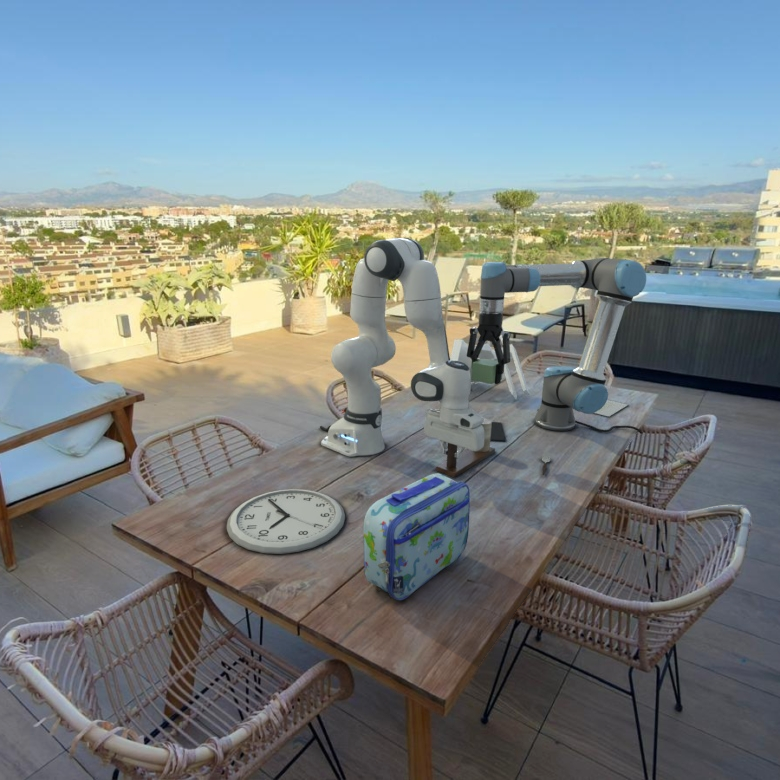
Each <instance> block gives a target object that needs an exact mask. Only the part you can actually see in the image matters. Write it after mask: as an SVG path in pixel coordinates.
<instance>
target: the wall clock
mask: <svg viewBox="0 0 780 780" xmlns="http://www.w3.org/2000/svg"><path fill="white" fill-rule="evenodd" d="M345 520H346V515H345V511H344V508H343V507H342V505H341V504H340V503H339V502H338V501H337V500H336V499H334V498H333V497H331V496H329V495H327V494H324V493H322V492H319V491H315V490H309V489H298V488H297V489H295V488H292V489H289V488H288V489H280V490H279V489H278V490H274V491H270V492H269V491H268V492H265V493H262V494H260V495H257V496H254V497H252V498H250V499H248V500H246V501H245V502H243V503H241V504H240V505H239V506H237V508H236V509H234V510H233V511H232V512H231V514H230V516H229V517H228V519H227V522H226V531H227V534H228V537H229V538H230V539H231V540H232V541H233V542H234V543H235V544H236V545H238V546H240V547H242V548H244V549H246V550H248V551H253V552H256V553H261V554H271V555H273V554H274V555H281V554H282V555H283V554H291V553H300V552H303V551H306V550H311V549H314V548H316V547H318V546H320V545H322V544H325V543H328V541H330V540H332V538H334V537H335V536H336V535H338V533H339V532H340V531H341V530H342V528H343V527H344V524H345Z"/></svg>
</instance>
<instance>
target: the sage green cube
mask: <svg viewBox="0 0 780 780" xmlns="http://www.w3.org/2000/svg"><path fill="white" fill-rule="evenodd" d="M496 364H498V361H495V360H489V359H484V358H483V359H481V360H478V361H475V362H473V363H472V378H471V380H473V381H478V382H477V383H482V384H488V385H493V384H495V374H496ZM502 380H503V374H501V381H502Z"/></svg>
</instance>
